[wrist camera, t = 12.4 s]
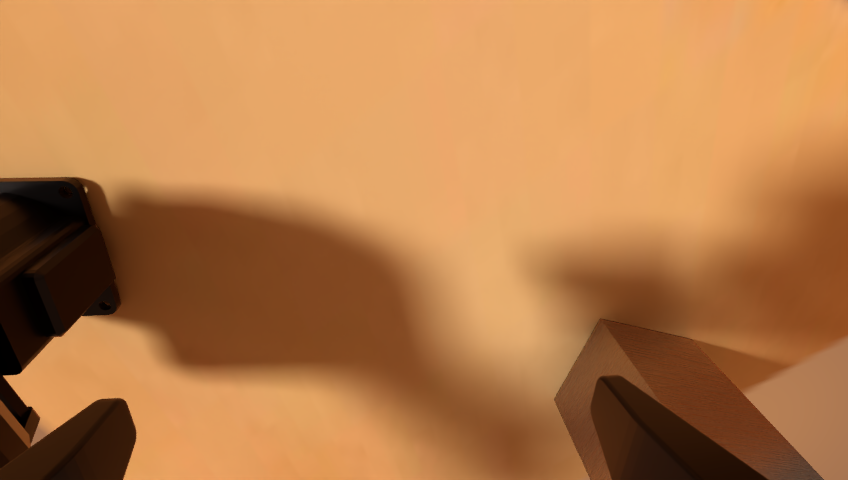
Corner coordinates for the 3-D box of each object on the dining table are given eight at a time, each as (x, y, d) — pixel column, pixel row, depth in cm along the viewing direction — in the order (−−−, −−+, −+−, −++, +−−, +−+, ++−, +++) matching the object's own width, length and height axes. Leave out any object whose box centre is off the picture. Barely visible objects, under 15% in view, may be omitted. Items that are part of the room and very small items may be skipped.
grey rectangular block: (554, 399, 28) (649, 607, 18) (600, 318, 26) (737, 509, 16) (639, 414, 29) (770, 616, 20) (691, 339, 27) (868, 527, 17)
